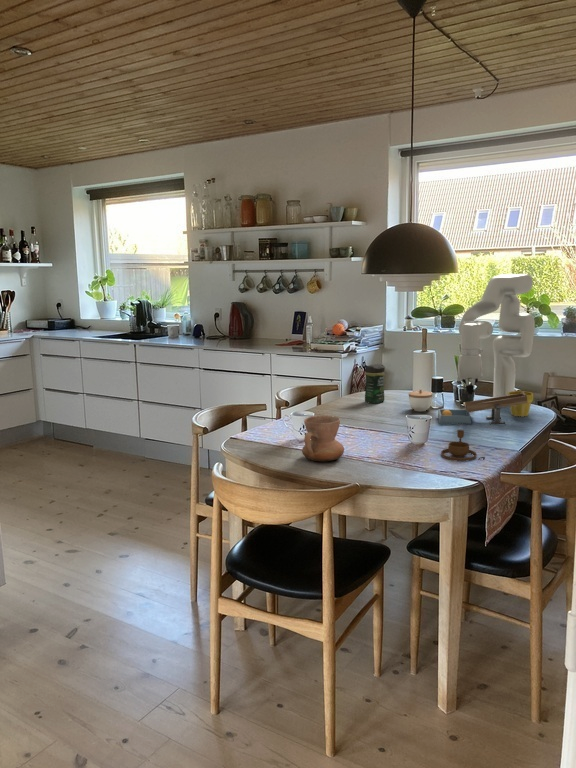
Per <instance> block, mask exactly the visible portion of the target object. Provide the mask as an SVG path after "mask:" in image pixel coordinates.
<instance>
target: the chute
mask: <svg viewBox="0 0 576 768" xmlns="http://www.w3.org/2000/svg"><path fill="white" fill-rule="evenodd" d="M525 403H528V401H527V396H526V394H525V393H524V392H522V393H519V394H513V395H506V396H500V397H494V398H491V397H488V398H483V399H477V400H471V401H464V402H463V404H462V405H463V406H464V409H465V410H467V412H468V413H469V414H470V413H475V412H479V411H480V412H481V411H486V410H491V409H494V408H495V405H501V408H506V407H510V406H513V405H519V404H525Z"/></svg>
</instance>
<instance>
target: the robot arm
mask: <svg viewBox="0 0 576 768" xmlns="http://www.w3.org/2000/svg"><path fill="white" fill-rule="evenodd" d="M533 283H534V282H533V278H532V276H531V275H530V274H527V273H520V274H516V273H509V274H508V273H505V274H499V275H495V276H492V277H491V278H490V279H489V281H488V282H487V286H486V287H485V289H484V291H483V295H482V297H481V298H480V300H479V301H478V302H476V303H475V304H473V305H472V306H470V307H469V308H467V310H466V311H465V312H464V313H463V315H462V317H461V320H460V323H459V325H458V333H459V335H460V337H461V340H460V341H461V342H460V343H461V345H460V346H461V347H460V348H461V349H460V351H461V352H460V354H459V355H458V360H457V361H458V362H457V382H463V383H464V385H465V392H466V393H467V395H473V393H474V392H475V391H474V390H475V389H474V386H475V385H476V384H477V383H478V382H481V381H483V380H484V378H483V374H484V372H483V371H484V370H483V360H482V356H481V353H484V349H482V348H480V344H481V343H480V340H481V339H484V340H485V339H487V338H490V337H491V336H492V334H493V331H494V327H493V324H492V323H491V322H489V321H486V320H476V319H478V318H480V317H482V316H483V317H484V316H486V315H489V314H492V313H494V312H496V311H498V310H499V309H500V311H499V317H498V318H499V320H498V330H499V331H500V332H502V333H507V334H508V333H509V334H520V335H518V336H517V335H498V336H496V337H495V338H494V339H493V342H492V350H493V351H492V352H493V358H494V363H493V364H494V365H493V367H494V369H493V390H492V391H493V393H492V396H491V397H490V398H494V397H500V396H506V395H508V393H509V392H512V391H515V389H516V388H515V387H516V386H515V384H516V362H515V360H514V359H513V357H517V358H527V357H529V356H530V355H531V353H532V351H533V345H534V344H533V342H534V334H535V324H536V322H535V318H534V316H533V315H532V314H531V313H528V312H520V308H521V301H520V299H519V297H518V295H519V296H520V295H524V294H527V293H529V292H530V291H531V290H532V288H533ZM469 379H471V380H470V382H469Z"/></svg>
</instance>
